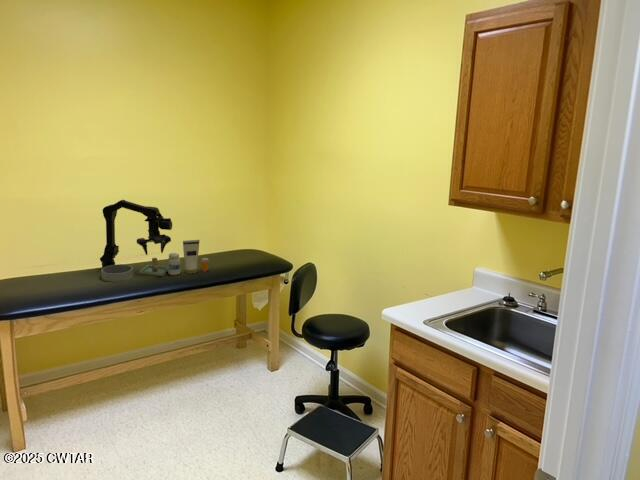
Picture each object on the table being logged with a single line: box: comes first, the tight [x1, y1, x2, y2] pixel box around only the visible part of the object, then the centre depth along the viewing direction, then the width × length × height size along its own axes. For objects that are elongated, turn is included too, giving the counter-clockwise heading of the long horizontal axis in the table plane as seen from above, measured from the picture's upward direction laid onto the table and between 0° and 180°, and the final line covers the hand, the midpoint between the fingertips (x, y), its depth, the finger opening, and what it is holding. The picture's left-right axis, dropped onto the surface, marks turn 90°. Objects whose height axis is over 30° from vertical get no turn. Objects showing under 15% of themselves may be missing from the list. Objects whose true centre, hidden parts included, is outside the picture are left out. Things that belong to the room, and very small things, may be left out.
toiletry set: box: [167, 239, 209, 276], centre depth 275 cm, size 25×8×21 cm, turn 120°
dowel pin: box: [151, 257, 158, 272], centre depth 271 cm, size 3×3×8 cm
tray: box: [138, 264, 168, 277], centre depth 272 cm, size 14×12×2 cm
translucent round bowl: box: [100, 263, 134, 283], centre depth 259 cm, size 17×17×6 cm
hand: (154, 253), depth 270 cm, fingers open, 9 cm apart
